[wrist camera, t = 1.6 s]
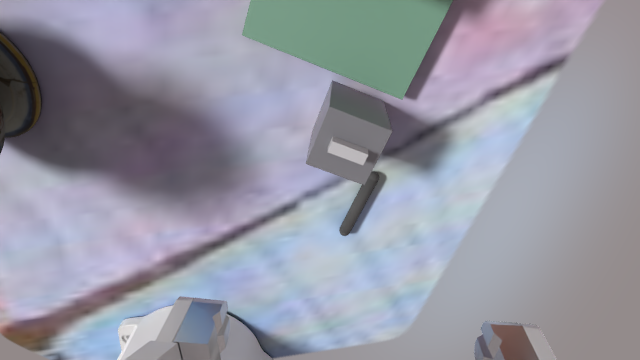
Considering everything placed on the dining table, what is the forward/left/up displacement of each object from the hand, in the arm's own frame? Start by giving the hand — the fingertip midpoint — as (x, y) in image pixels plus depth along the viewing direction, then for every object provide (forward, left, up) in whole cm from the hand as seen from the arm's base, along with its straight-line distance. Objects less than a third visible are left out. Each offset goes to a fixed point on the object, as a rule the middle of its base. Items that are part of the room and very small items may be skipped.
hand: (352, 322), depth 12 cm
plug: (0, 0, -19) cm, 19 cm away
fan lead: (-7, -4, -19) cm, 21 cm away
